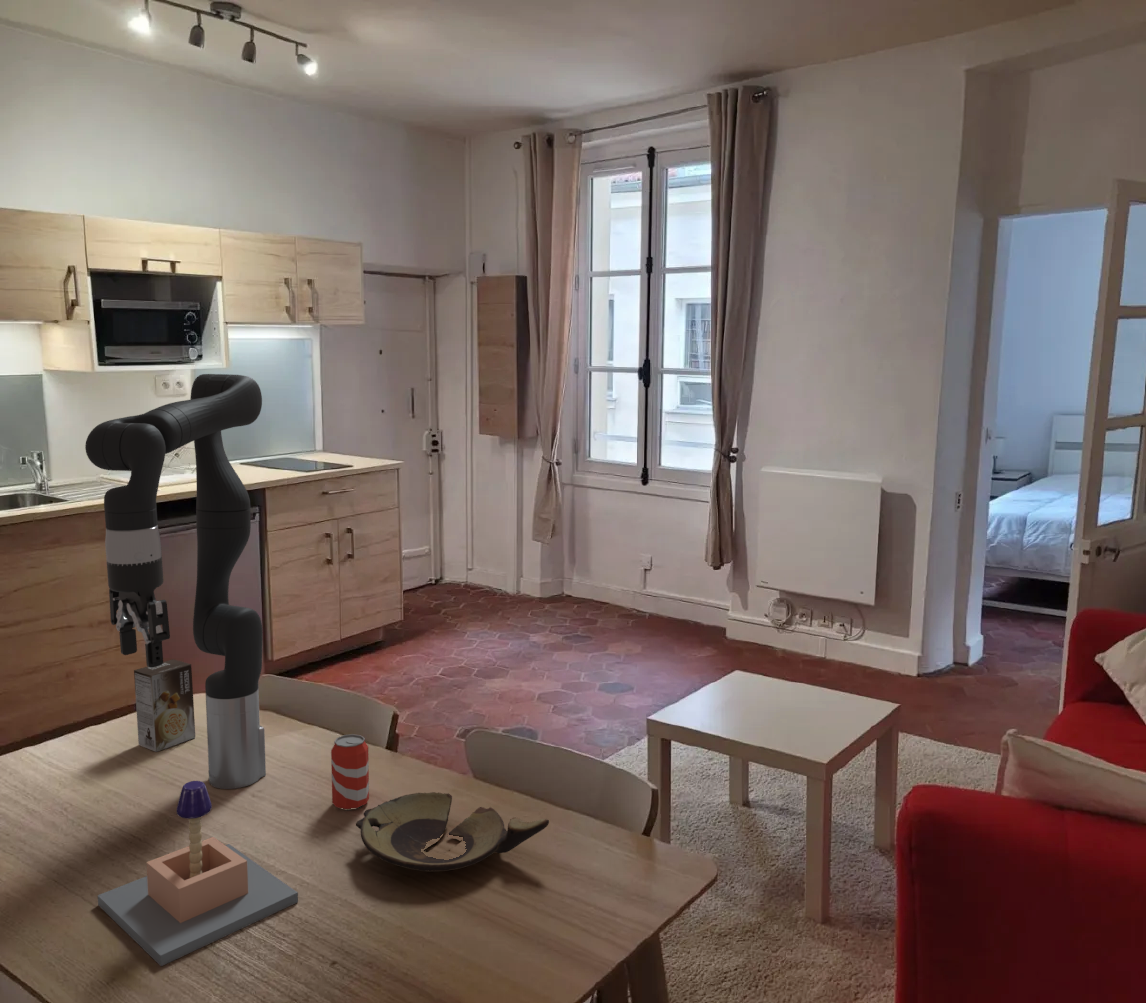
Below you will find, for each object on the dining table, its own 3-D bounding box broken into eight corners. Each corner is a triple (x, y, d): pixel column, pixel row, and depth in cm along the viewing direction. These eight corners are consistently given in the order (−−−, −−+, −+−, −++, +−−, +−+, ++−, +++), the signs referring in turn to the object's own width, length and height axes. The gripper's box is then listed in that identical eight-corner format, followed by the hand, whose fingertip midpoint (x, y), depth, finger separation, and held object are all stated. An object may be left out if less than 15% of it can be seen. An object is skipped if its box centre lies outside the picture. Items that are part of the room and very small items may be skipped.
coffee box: (177, 731, 195) (174, 658, 193) (196, 738, 192) (193, 663, 190) (137, 745, 188) (133, 669, 185) (155, 753, 184) (151, 675, 182)
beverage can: (357, 814, 161) (356, 749, 159) (325, 808, 163) (324, 743, 161) (375, 799, 166) (374, 736, 164) (344, 794, 168) (343, 731, 167)
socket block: (229, 852, 147) (227, 814, 146) (298, 902, 134) (296, 860, 133) (98, 905, 133) (95, 862, 132) (161, 966, 119) (158, 920, 118)
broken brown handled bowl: (418, 806, 164) (418, 765, 163) (563, 853, 149) (563, 808, 148) (326, 863, 145) (325, 817, 144) (482, 923, 130) (482, 872, 129)
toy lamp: (222, 888, 135) (217, 780, 132) (199, 905, 130) (195, 793, 128) (195, 881, 136) (190, 774, 134) (172, 898, 132) (167, 788, 130)
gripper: (181, 559, 137) (188, 664, 139) (137, 545, 146) (144, 643, 148) (130, 568, 131) (138, 677, 134) (87, 553, 140) (96, 655, 143)
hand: (141, 659), depth 141 cm, fingers open, 8 cm apart
